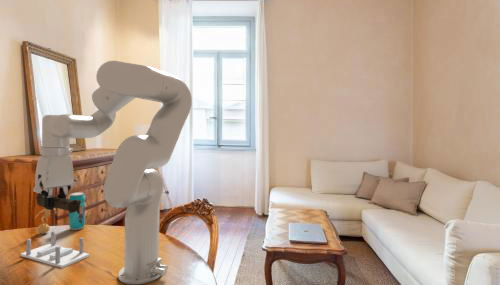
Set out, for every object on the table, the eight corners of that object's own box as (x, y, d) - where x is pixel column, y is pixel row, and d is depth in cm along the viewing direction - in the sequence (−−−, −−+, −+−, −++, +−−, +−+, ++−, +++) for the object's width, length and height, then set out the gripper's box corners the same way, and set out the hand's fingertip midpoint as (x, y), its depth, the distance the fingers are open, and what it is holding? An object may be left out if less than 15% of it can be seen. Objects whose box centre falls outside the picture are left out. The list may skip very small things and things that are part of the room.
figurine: (51, 229, 118) (51, 201, 118) (60, 232, 116) (60, 203, 115) (28, 236, 110) (29, 205, 110) (38, 238, 108) (38, 207, 108)
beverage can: (76, 231, 117) (76, 195, 116) (65, 229, 119) (66, 194, 118) (88, 227, 122) (88, 192, 122) (78, 225, 124) (78, 191, 124)
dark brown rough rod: (81, 211, 92) (81, 196, 92) (68, 214, 88) (68, 199, 88) (45, 203, 100) (46, 190, 99) (33, 205, 96) (33, 192, 96)
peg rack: (89, 256, 95) (89, 239, 94) (62, 268, 86) (62, 249, 86) (49, 245, 102) (49, 230, 102) (20, 256, 93) (20, 238, 93)
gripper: (71, 150, 102) (71, 201, 102) (20, 153, 86) (20, 212, 87) (86, 152, 99) (86, 203, 100) (36, 154, 84) (36, 216, 84)
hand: (55, 207), depth 93 cm, fingers closed on dark brown rough rod, 3 cm apart
